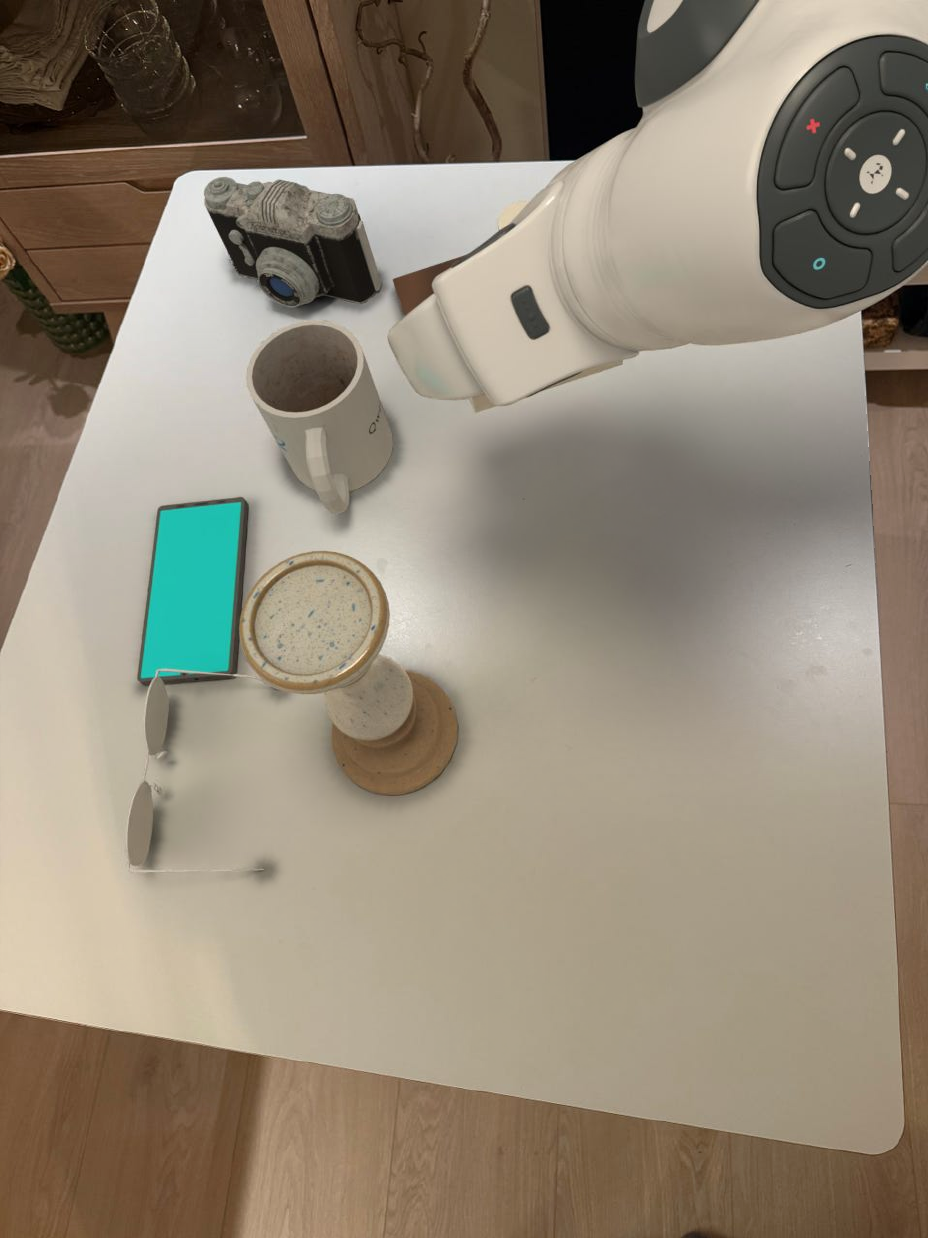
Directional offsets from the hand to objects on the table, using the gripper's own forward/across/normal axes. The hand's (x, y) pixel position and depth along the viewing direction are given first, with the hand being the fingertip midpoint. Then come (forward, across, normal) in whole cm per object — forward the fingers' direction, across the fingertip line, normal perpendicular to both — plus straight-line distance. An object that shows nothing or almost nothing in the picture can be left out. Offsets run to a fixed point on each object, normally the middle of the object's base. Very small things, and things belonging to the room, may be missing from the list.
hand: (523, 282), depth 53 cm
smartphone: (+17, +28, +9) cm, 34 cm away
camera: (+33, +7, -7) cm, 34 cm away
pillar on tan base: (+4, 0, +5) cm, 6 cm away
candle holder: (+4, +21, +22) cm, 31 cm away
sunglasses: (+8, +33, +19) cm, 39 cm away
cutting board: (+23, -7, +2) cm, 25 cm away
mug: (+20, +14, +7) cm, 25 cm away
